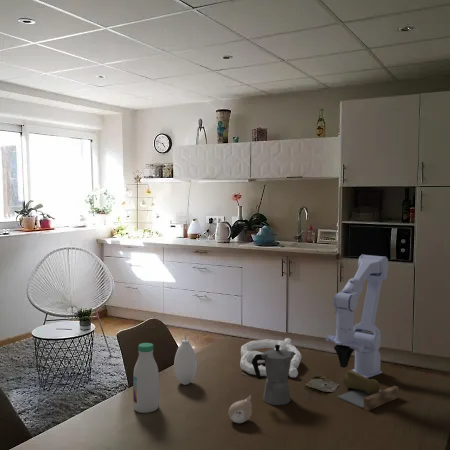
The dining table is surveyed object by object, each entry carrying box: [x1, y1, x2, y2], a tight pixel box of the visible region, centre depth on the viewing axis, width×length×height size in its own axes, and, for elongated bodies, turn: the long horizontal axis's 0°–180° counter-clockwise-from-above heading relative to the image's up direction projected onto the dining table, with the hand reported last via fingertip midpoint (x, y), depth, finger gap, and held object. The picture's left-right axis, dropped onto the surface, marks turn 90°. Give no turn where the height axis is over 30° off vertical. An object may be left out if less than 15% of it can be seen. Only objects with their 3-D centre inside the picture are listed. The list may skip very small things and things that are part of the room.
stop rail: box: [363, 385, 400, 412], centre depth 152 cm, size 16×2×4 cm, turn 127°
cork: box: [343, 369, 381, 395], centre depth 160 cm, size 6×6×11 cm
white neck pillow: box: [239, 337, 303, 379], centre depth 186 cm, size 28×24×6 cm
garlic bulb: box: [227, 394, 253, 424], centre depth 139 cm, size 7×6×8 cm
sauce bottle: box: [173, 333, 198, 386], centre depth 167 cm, size 8×8×18 cm
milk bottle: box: [132, 342, 160, 414], centre depth 147 cm, size 8×8×20 cm
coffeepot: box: [252, 345, 296, 406], centre depth 154 cm, size 15×9×18 cm, turn 110°
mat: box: [337, 389, 382, 409], centre depth 157 cm, size 16×10×1 cm, turn 127°
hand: (343, 366), depth 164 cm, fingers closed
